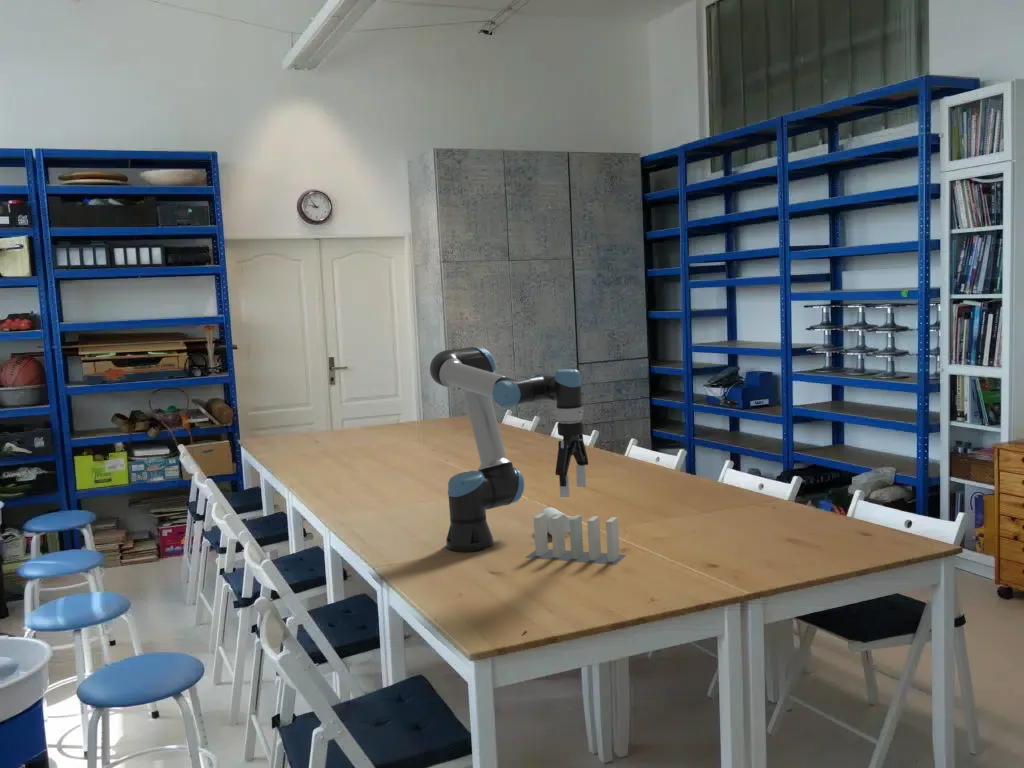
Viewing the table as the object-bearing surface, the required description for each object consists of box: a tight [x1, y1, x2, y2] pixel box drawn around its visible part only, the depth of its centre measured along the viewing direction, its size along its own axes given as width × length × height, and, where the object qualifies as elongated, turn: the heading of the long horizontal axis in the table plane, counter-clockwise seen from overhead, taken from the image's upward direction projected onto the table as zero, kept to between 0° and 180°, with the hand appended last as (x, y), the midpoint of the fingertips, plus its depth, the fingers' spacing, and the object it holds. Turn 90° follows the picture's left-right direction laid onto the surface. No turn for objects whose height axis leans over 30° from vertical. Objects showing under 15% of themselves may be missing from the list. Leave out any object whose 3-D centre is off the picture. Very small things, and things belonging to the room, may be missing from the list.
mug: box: [540, 507, 573, 537], centre depth 303 cm, size 12×10×8 cm
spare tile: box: [569, 514, 584, 559], centre depth 275 cm, size 2×5×12 cm, turn 155°
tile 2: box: [551, 513, 566, 558], centre depth 277 cm, size 2×5×12 cm, turn 154°
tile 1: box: [533, 512, 549, 556], centre depth 280 cm, size 2×5×12 cm, turn 155°
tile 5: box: [605, 516, 620, 562], centre depth 270 cm, size 2×5×12 cm, turn 154°
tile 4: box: [586, 515, 602, 561], centre depth 272 cm, size 2×5×12 cm, turn 155°
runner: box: [524, 548, 627, 566], centre depth 275 cm, size 29×10×1 cm, turn 65°
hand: (573, 491), depth 273 cm, fingers open, 13 cm apart
